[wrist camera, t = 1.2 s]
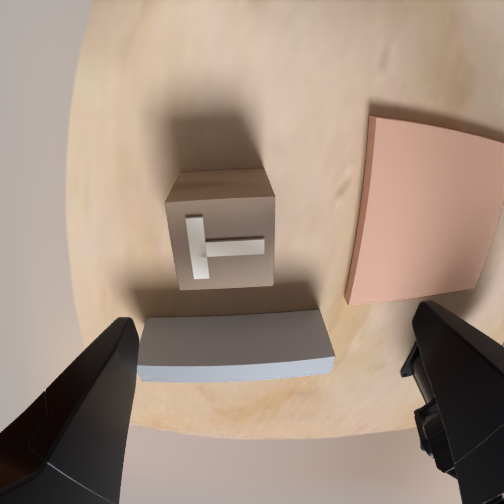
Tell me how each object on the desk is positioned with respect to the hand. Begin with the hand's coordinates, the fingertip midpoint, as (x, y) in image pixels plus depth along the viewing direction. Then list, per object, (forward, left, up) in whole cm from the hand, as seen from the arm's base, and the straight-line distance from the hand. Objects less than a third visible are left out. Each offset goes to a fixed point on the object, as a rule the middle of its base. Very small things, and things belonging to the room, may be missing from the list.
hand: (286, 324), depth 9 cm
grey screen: (-11, +2, -11) cm, 16 cm away
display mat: (-2, -14, -11) cm, 18 cm away
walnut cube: (-1, +2, -12) cm, 12 cm away
